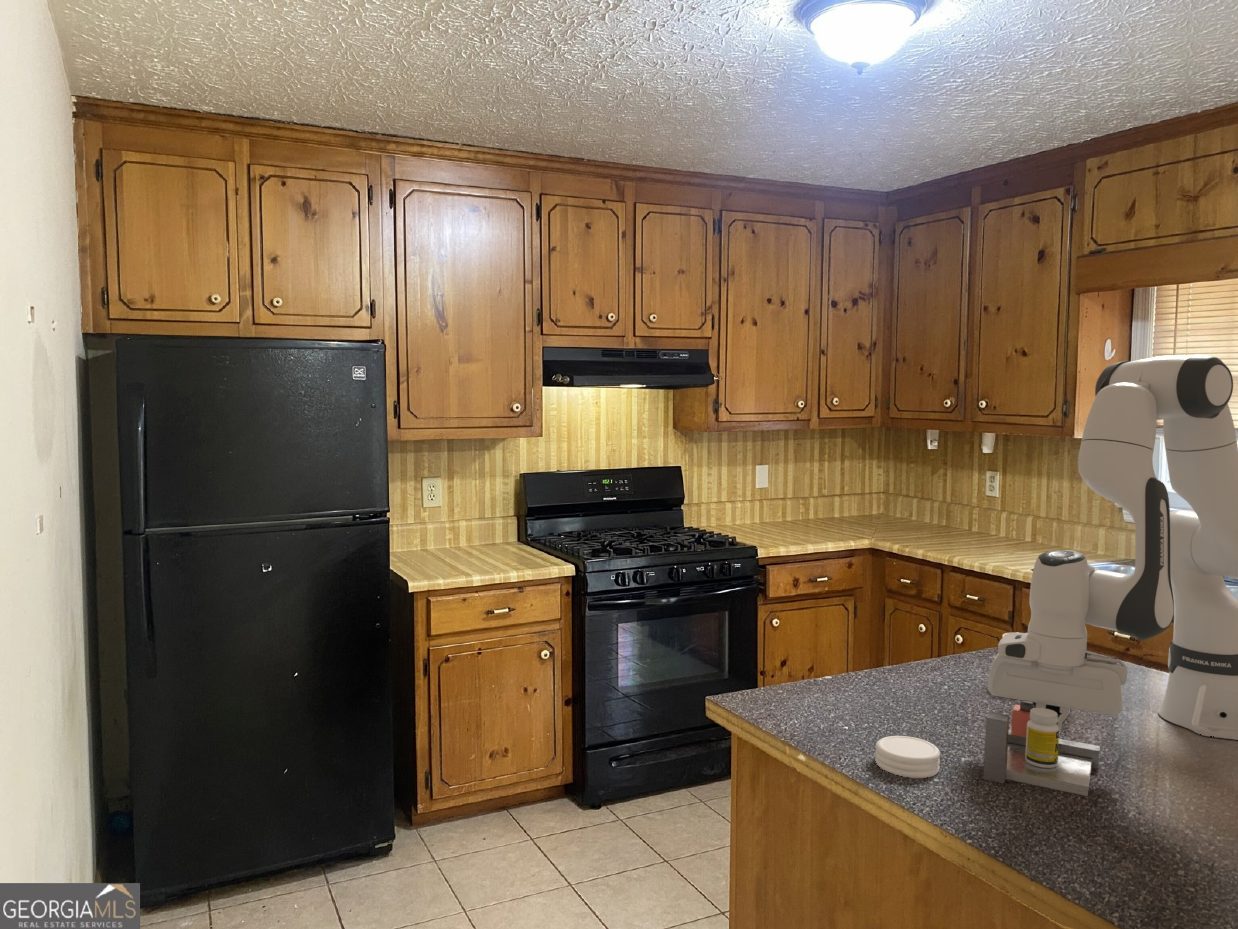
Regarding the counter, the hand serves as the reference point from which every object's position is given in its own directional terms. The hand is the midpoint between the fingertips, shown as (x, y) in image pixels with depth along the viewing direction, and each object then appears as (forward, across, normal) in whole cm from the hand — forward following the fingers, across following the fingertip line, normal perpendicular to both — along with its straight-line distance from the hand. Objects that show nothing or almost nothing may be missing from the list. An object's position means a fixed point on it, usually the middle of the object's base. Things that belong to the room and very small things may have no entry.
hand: (1051, 730), depth 150 cm
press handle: (+1, +4, 0) cm, 4 cm away
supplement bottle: (+3, +1, +7) cm, 8 cm away
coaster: (+5, +20, +16) cm, 26 cm away
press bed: (+5, +1, +7) cm, 9 cm away
